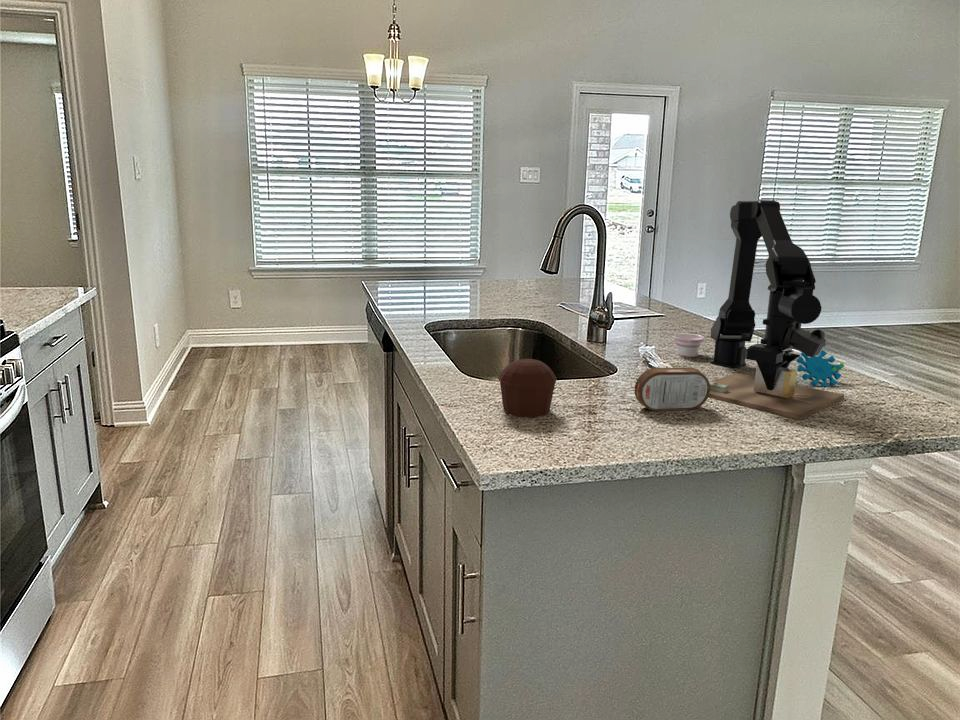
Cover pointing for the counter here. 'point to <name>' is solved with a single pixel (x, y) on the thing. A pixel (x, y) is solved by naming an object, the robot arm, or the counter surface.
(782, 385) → the white box tan top
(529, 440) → the counter surface
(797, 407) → the base
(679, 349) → the pink white bowl
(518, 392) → the muffin
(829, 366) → the gear
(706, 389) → the tin
